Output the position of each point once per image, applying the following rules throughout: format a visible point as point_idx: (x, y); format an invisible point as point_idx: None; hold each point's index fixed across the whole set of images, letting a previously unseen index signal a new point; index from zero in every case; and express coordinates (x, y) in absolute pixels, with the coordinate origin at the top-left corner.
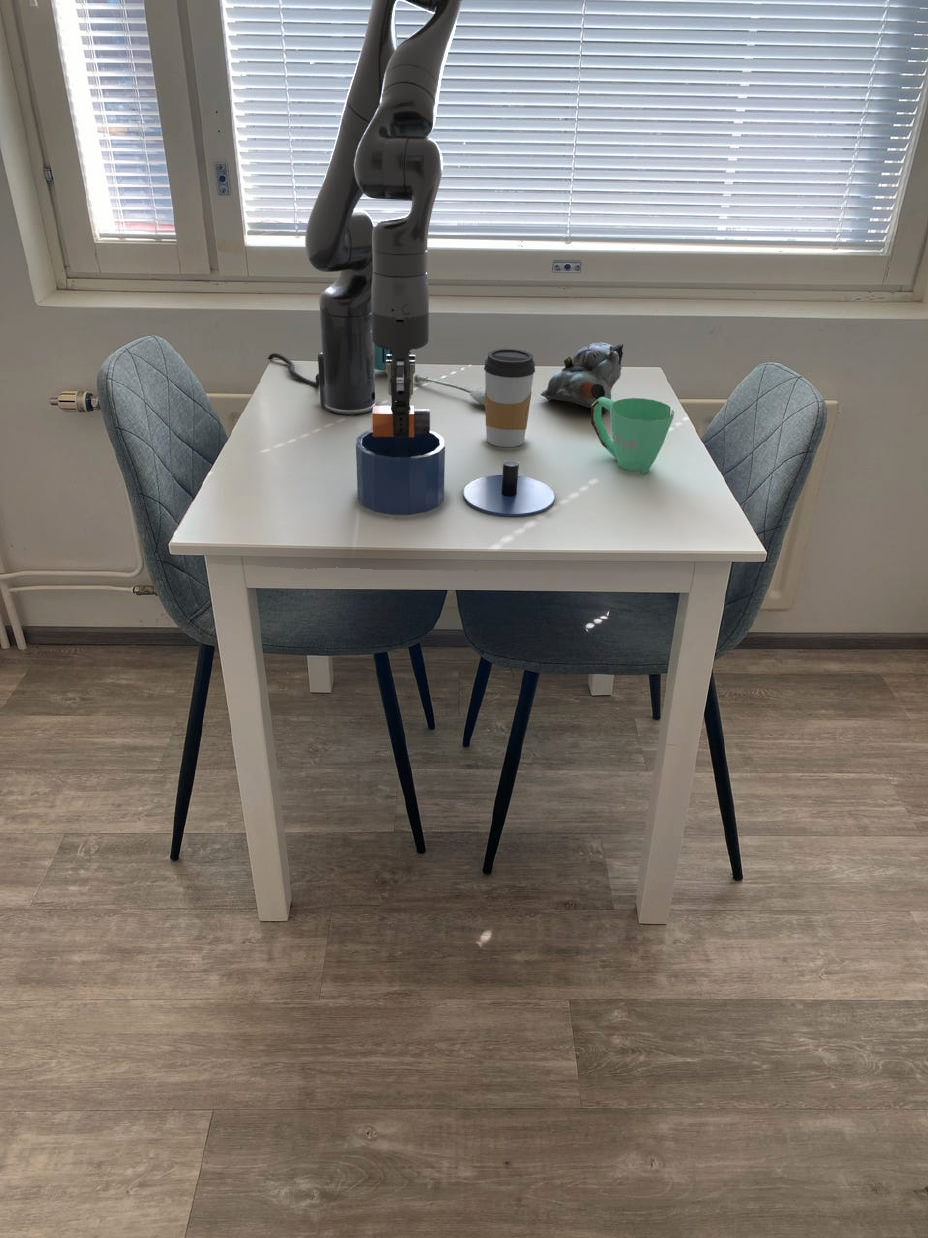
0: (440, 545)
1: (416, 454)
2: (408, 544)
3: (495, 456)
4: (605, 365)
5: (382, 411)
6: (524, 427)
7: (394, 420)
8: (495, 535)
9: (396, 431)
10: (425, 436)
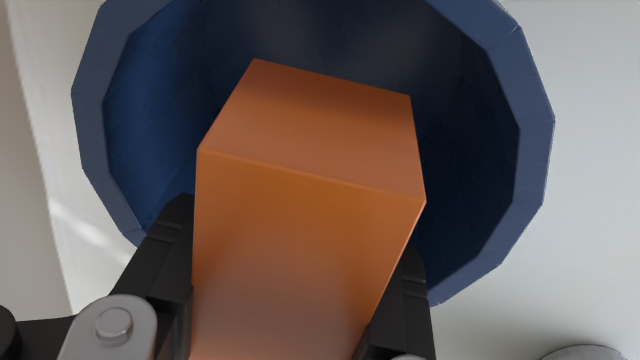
0: (33, 98)
1: (432, 198)
2: (20, 13)
3: (518, 335)
4: None
5: (250, 235)
6: None
7: (169, 254)
8: (105, 220)
9: (163, 211)
10: None
